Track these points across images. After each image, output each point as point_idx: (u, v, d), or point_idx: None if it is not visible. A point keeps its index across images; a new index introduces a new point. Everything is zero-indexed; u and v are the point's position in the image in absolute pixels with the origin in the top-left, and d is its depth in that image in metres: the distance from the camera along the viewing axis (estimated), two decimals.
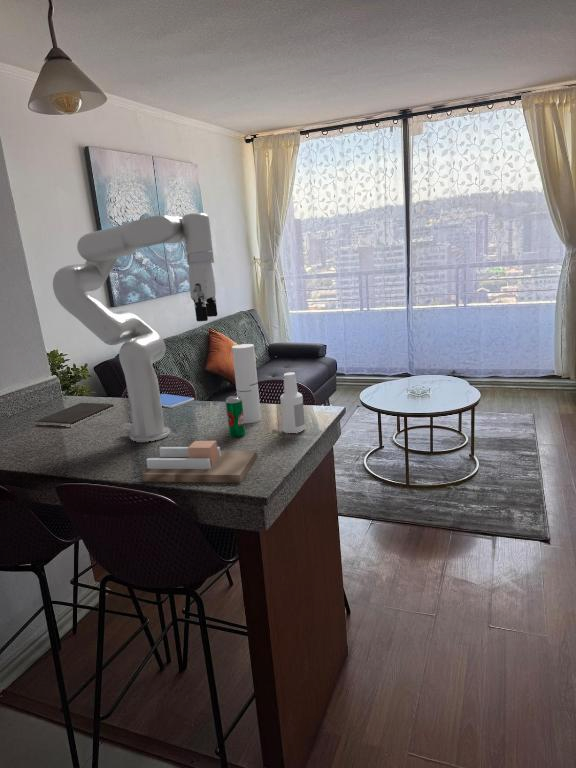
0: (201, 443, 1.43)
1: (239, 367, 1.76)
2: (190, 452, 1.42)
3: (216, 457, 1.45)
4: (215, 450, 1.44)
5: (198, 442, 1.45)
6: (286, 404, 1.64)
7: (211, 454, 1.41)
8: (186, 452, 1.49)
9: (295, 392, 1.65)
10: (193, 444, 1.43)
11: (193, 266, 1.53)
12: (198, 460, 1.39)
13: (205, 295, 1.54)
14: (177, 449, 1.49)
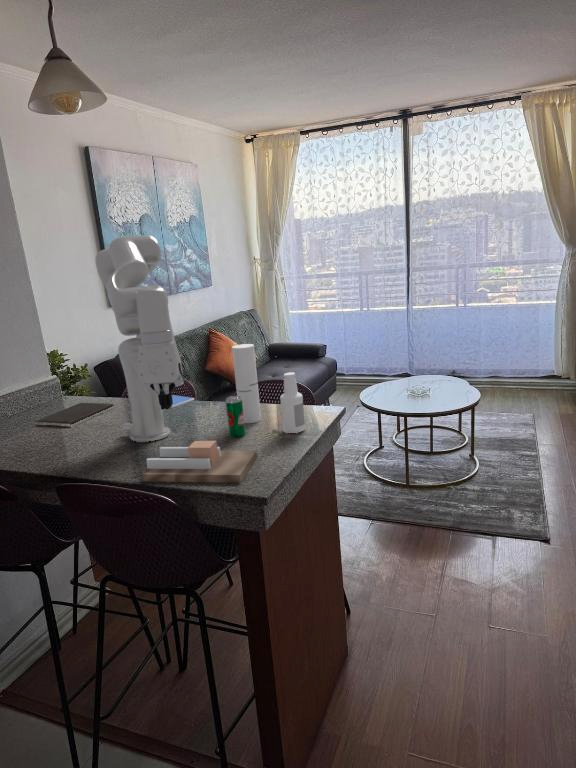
0: (201, 443, 1.43)
1: (239, 367, 1.76)
2: (190, 452, 1.42)
3: (216, 457, 1.45)
4: (215, 450, 1.44)
5: (198, 442, 1.45)
6: (286, 404, 1.64)
7: (211, 454, 1.41)
8: (186, 452, 1.49)
9: (295, 392, 1.65)
10: (193, 444, 1.43)
11: (173, 345, 1.37)
12: (198, 460, 1.39)
13: None
14: (177, 449, 1.49)
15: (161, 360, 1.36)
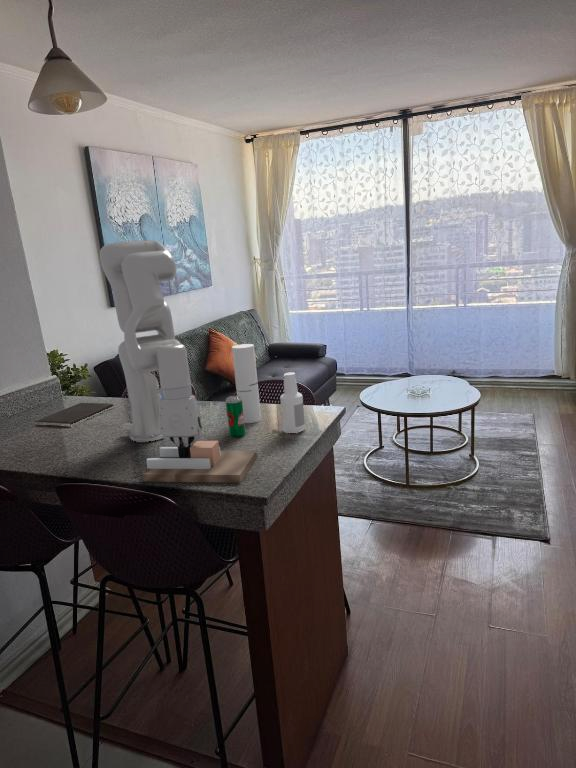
0: (203, 444, 1.43)
1: (239, 367, 1.76)
2: (192, 452, 1.41)
3: (218, 457, 1.44)
4: (217, 450, 1.44)
5: (200, 442, 1.44)
6: (286, 404, 1.64)
7: (213, 454, 1.41)
8: None
9: (295, 392, 1.65)
10: (195, 444, 1.43)
11: (193, 400, 1.39)
12: (198, 460, 1.39)
13: None
14: (177, 449, 1.49)
15: (181, 415, 1.39)
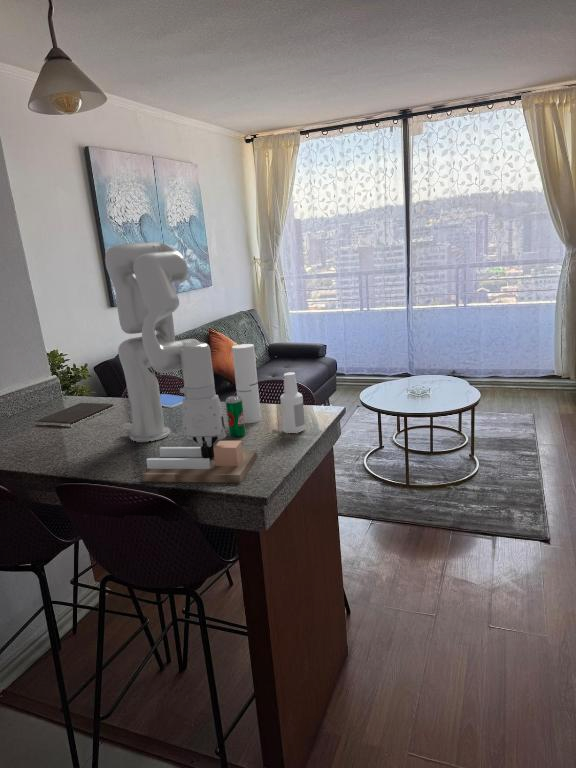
0: (226, 443, 1.42)
1: (239, 367, 1.76)
2: (215, 452, 1.40)
3: (241, 457, 1.43)
4: (240, 450, 1.42)
5: (223, 442, 1.43)
6: (286, 404, 1.64)
7: (237, 454, 1.39)
8: (186, 452, 1.49)
9: (295, 392, 1.65)
10: (218, 444, 1.42)
11: (217, 399, 1.38)
12: (198, 460, 1.39)
13: None
14: (177, 449, 1.49)
15: (205, 414, 1.38)
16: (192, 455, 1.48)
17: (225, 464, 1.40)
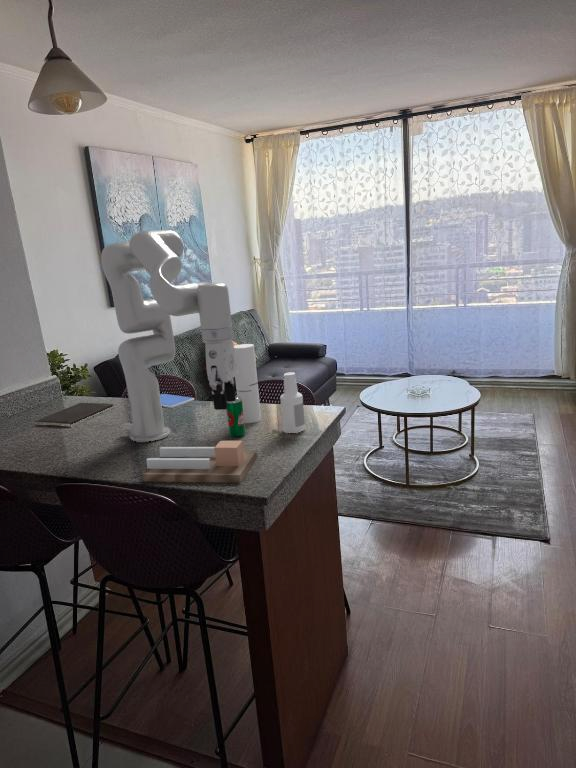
0: (227, 443, 1.42)
1: (239, 367, 1.76)
2: (216, 452, 1.40)
3: (242, 457, 1.43)
4: (241, 450, 1.42)
5: (224, 442, 1.43)
6: (286, 404, 1.64)
7: (238, 454, 1.39)
8: (186, 452, 1.49)
9: (295, 392, 1.65)
10: (219, 444, 1.42)
11: None
12: (198, 460, 1.39)
13: None
14: (177, 449, 1.49)
15: (232, 353, 1.37)
16: (192, 455, 1.48)
17: (226, 464, 1.40)
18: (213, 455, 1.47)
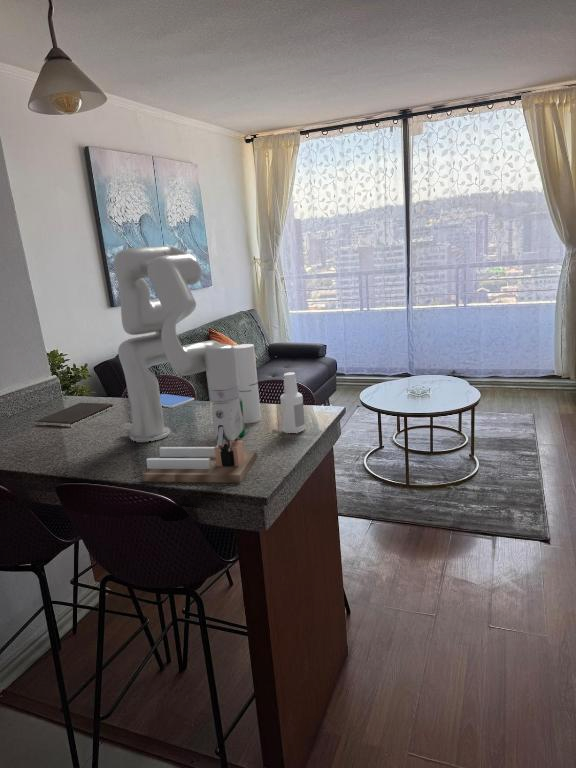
0: (227, 443, 1.42)
1: (239, 367, 1.76)
2: (216, 452, 1.40)
3: (242, 457, 1.43)
4: (241, 450, 1.42)
5: (224, 442, 1.43)
6: (286, 404, 1.64)
7: (238, 453, 1.39)
8: (186, 452, 1.49)
9: (295, 392, 1.65)
10: None
11: None
12: (198, 460, 1.39)
13: None
14: (177, 449, 1.49)
15: (238, 411, 1.40)
16: (192, 455, 1.48)
17: None
18: (213, 455, 1.47)
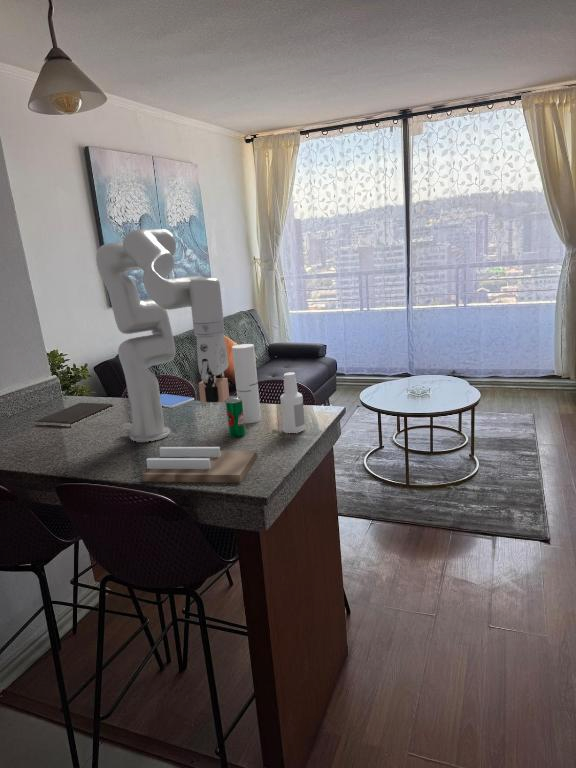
0: None
1: (239, 367, 1.76)
2: (201, 388, 1.39)
3: (227, 395, 1.42)
4: (226, 387, 1.41)
5: None
6: (286, 404, 1.64)
7: (222, 390, 1.38)
8: (186, 452, 1.49)
9: (295, 392, 1.65)
10: None
11: None
12: (198, 460, 1.39)
13: None
14: (177, 449, 1.49)
15: (223, 347, 1.39)
16: (192, 455, 1.48)
17: None
18: (213, 455, 1.47)
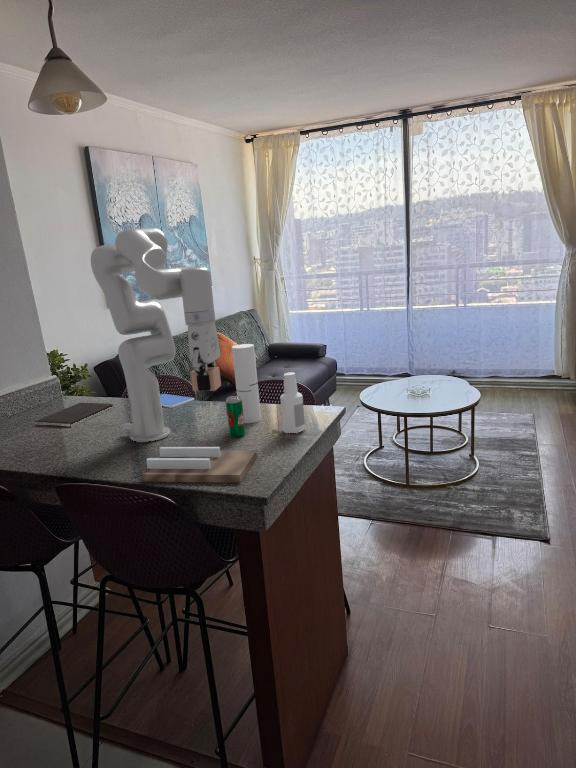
0: None
1: (239, 367, 1.76)
2: (193, 377, 1.40)
3: (219, 383, 1.43)
4: (218, 376, 1.43)
5: None
6: (286, 404, 1.64)
7: (214, 378, 1.40)
8: (186, 452, 1.49)
9: (295, 392, 1.65)
10: None
11: None
12: (198, 460, 1.39)
13: None
14: (177, 449, 1.49)
15: (215, 336, 1.41)
16: (192, 455, 1.48)
17: None
18: (213, 455, 1.47)
